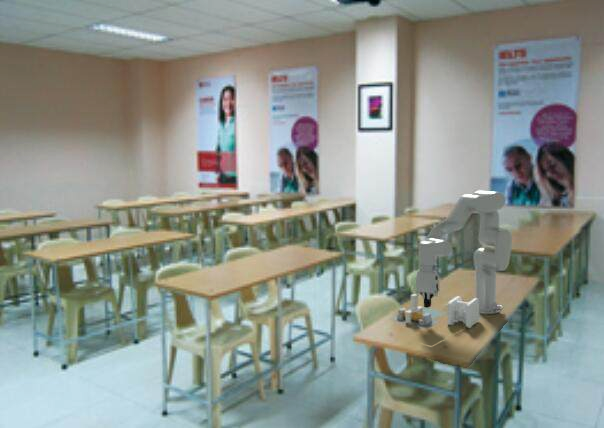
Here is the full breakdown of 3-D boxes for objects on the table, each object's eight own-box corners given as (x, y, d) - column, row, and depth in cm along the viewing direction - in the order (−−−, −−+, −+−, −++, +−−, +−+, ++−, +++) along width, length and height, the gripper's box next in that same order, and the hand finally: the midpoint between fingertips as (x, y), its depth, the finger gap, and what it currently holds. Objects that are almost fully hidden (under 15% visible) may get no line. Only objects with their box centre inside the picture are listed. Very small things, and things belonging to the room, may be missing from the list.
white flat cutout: (423, 317, 246) (423, 292, 245) (409, 323, 238) (409, 298, 237) (419, 316, 248) (418, 291, 247) (405, 322, 240) (405, 297, 239)
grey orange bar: (431, 322, 239) (431, 313, 239) (426, 324, 236) (426, 316, 236) (403, 316, 250) (403, 307, 250) (398, 318, 247) (398, 309, 247)
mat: (446, 314, 252) (446, 313, 252) (433, 320, 244) (433, 319, 244) (415, 307, 265) (414, 306, 265) (401, 313, 257) (401, 311, 257)
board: (440, 322, 241) (440, 316, 240) (425, 329, 232) (425, 323, 231) (404, 314, 255) (404, 308, 255) (389, 320, 246) (389, 315, 246)
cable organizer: (468, 330, 228) (468, 305, 227) (445, 326, 235) (445, 302, 233) (479, 321, 240) (479, 297, 239) (457, 317, 247) (457, 294, 245)
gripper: (446, 268, 232) (446, 307, 235) (417, 264, 243) (417, 302, 245) (437, 271, 227) (437, 311, 229) (408, 267, 238) (409, 305, 240)
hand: (427, 306), depth 237 cm, fingers closed
